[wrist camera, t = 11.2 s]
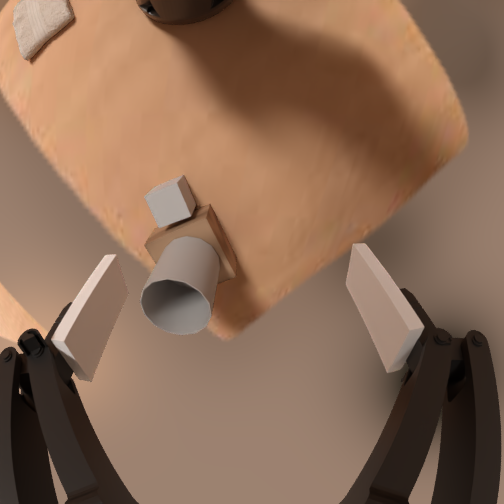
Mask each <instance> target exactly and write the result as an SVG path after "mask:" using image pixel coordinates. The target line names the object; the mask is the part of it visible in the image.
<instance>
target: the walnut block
mask: <svg viewBox="0 0 504 504" xmlns="http://www.w3.org/2000/svg"><path fill="white" fill-rule="evenodd" d="M185 236H189V237H195V238H200V239H202V240H203V241H205V242H206V243H208V244H210V245H211V246H212V247H213V249H214V250H215V252H216V253H217V255H218V256H219V264H220V270H219V276H218V282H217V284H218V283H221V282H223V281H226V280H229V279H232V278H235V277H236V256H235V254H234V252H233V250H232V248H231V246H230V244H229V242H228V239H227V237H226V235H225V233H224V231H223V229H222V227H221V225H220V223H219V221H218V219H217V217H216V215H215V213H214V211H213V209H212V207H211V205H210V204H209V205H206V206H204V207H202V208H199V209H197V210H195V211H193V213H192V216H191V217H188V218H185V219H182V220H180V221H177V222H174V223H172V224H169V225H166V226H164V227H161V228H159V227H157V228H155V229H154V231H153V232H152V234H151V235H150V237H149V238H148V240H147V241H146V243H145V245H144V246H145V247H146V249H147V251H148V252H149V254H150V256H151V257H152V259H153V260H154V262H155V264H157V262H158V260H159V258H160V256H161V255H162V253H163V251H164V249H165V247H166V246H168V245H169V244H170V243H171V242H172V241H173V240H174V239H177V238H181V237H185Z"/></svg>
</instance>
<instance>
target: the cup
mask: <svg viewBox="0 0 504 504" xmlns="http://www.w3.org/2000/svg"><path fill="white" fill-rule="evenodd" d="M219 270H220V264H219V256H218V255H217V253H216V252H215V250H214V249H213V247H212V246H211V245H210V244H208V243H206V242H205V241H203V240H202V239H200V238H195V237H189V236H185V237H181V238H177V239H174V240H173V241H172V242H171V243H170V244H169V245H168V246H166V247H165V249H164V251H163V253H162V255H161V256H160V258H159V260H158V262H157V264H156V265H155V267H154V269H153V271H152V273H151V275H150V277H149V279H148V280H147V282H146V284H145V286H144V288H143V290H142V294H141V299H140V304H141V307H142V310H143V313H144V315H145V316H146V317H147V318H148V319H149V320H150V321H151V322H152V323H153V325H155V326H157V327H158V328H160V329H162V330H164V331H166V332H169V333H174V334H179V335H187V334H193V333H197V332H199V331H200V330H201V329H203V328H205V327H206V326H207V324H208V322H209V320H210V318H211V316H212V310H213V304H214V299H215V293H216V287H217V282H218V276H219Z"/></svg>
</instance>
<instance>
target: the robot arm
mask: <svg viewBox="0 0 504 504" xmlns="http://www.w3.org/2000/svg"><path fill="white" fill-rule="evenodd" d="M232 1H233V0H136V2H137V4H138V6H139V8H140V9H141V10H142V11H143V12H144V13H145V14H146V15H147V16H148V17H150V18H151V19H153V20H155V21H158V22H161V23H165V24H172V25H181V24H189V23H194V22H198V21H202V20H204V19H207V18H209V17H212V16H214V15H215V14H217V13H219V12H220V11H222V10H223V9H225V8H226V7H227V6H228V5H229V4H230V3H231V2H232ZM346 286H347V288H348V290H349V292H350V294H351V296H352V298H353V300H354V302H355V304H356V306H357V308H358V310H359V312H360V315H361V316H362V318H363V321H364V323H365V325H366V327H367V329H368V331H369V333H370V336H371V338H372V340H373V342H374V344H375V346H376V349H377V351H378V353H379V356H380V358H381V360H382V362H383V365H384V367H385V369H386V371H387V373H389V372H393V371H397V370H401V369H402V367H403V366H404V364H405V362H407V364H408V366H409V369H408V370H407V372H406V373H405V375H404V377H403V378H402V380H401V382H403V384H402V386H401V389H400V391H399V394H398V397H397V399H396V402H395V404H394V407H393V409H392V411H391V414H390V416H389V418H388V421H387V423H386V425H385V427H384V429H383V431H382V433H381V436H380V438H379V440H378V442H377V444H376V446H375V447H374V450H373V451H372V453H371V455H370V457H369V459H368V461H367V462H366V464H365V466H364V468H363V469H362V471H361V473H360V474H359V476H358V478H357V479H356V481H355V483H354V484H353V486H352V487H351V489H350V490H349V492H348V494H347V495H346V496H345V498H344V499H343V500H342V501H341V502H340V503H339V504H409V502H408V498H409V496H410V494H411V491H412V489H413V487H414V485H415V483H416V481H417V478H418V476H419V474H420V471H421V469H422V467H423V464H424V462H425V459H426V456H427V454H428V451H429V448H430V445H431V442H432V439H433V436H434V433H435V430H436V426H437V423H438V420H439V416H440V412H441V409H442V431H441V443H440V453H439V462H438V469H437V475H436V481H435V487H434V492H433V497H432V501H431V504H497V498H498V491H499V481H500V470H501V423H500V410H499V401H498V392H497V385H496V379H495V374H494V368H493V363H492V358H491V353H490V349H489V346H488V341H487V339H486V337H485V336H484V335H483V334H482V333H481V332H479V331H476V330H471V331H469V332H468V333H467V335H466V337H465V338H452V336H451V335H450V334H449V333H448V332H447V331H445V330H444V329H440V328H436V327H435V326H434V324H433V323H432V321H431V319H430V318H429V317H428V315H427V314H426V312H425V311H424V309H422V306H421V305H420V304H419V303H418V301H417V300H416V298H415V297H414V295H413V294H412V293H410V292H409V291H408V290H407V289H405V288H404V289H399V288H398V287H397V285H396V284H395V283H394V281H393V280H392V278H391V277H390V276H389V274H388V273H387V271H386V270H385V269H384V267H383V266H382V265H381V263H380V262H379V261H378V259H377V258H376V257H375V255H374V254H373V253H372V252H371V250H370V249H369V248H368V246H367V245H366V244H365V243H360V244H353V246H352V252H351V258H350V264H349V269H348V274H347V279H346ZM128 294H129V292H128V289H127V286H126V283H125V280H124V277H123V274H122V271H121V267H120V264H119V261H118V258H117V255H105V256H104V258H103V259H102V260H101V262H100V263H99V265H98V266H97V268H96V269H95V270H94V272H93V273H92V274H91V276H90V277H89V279H88V280H87V282H86V283H85V285H84V286H83V288H82V289H81V291H80V292H79V294H78V295H77V297H76V298H75V300H74V301H73V302H70V303H69V304H68V305H67V306H66V307H65V308H64V309H63V310H62V312H61V313H60V315H59V317H58V318H57V320H56V321H55V322H56V323H54V325H53V326H52V328H51V330H50V331H49V333H48V335H47V336H46V338H45V340H44V339H43V337H42V336H41V334H40V333H39V331H38V330H37V329H29V330H27V331H25V332H24V333H23V334H22V335H21V336H20V337H19V339H18V346H19V347H20V349H21V350H22V351H23V354H19V353H18V352H17V351H16V349H15V348H13V347H8V348H6V349H4V350H3V351H2V352H1V354H0V504H58V500H57V496H56V493H55V488H54V484H53V479H52V474H51V469H50V463H49V456H48V451H49V454H50V456H51V459H52V462H53V464H54V467H55V469H56V472H57V474H58V476H59V479H60V481H61V483H62V485H63V487H64V490H65V492H66V494H67V497H68V500H67V501H66V502H65V504H139V503H138V502H136V500H135V499H134V498H133V497H132V495H131V494H130V492H129V491H128V490H127V488H126V486H125V485H124V483H123V482H122V481H121V479H120V477H119V476H118V474H117V472H116V471H115V469H114V467H113V466H112V464H111V462H110V460H109V458H108V457H107V455H106V453H105V451H104V449H103V447H102V445H101V444H100V441H99V439H98V437H97V435H96V434H95V431H94V429H93V427H92V425H91V423H90V420H89V418H88V416H87V414H86V411H85V409H84V407H83V404H82V401H81V399H80V396H79V394H78V391H77V389H76V386H75V383H74V381H73V379H72V378H71V376H72V374H73V372H74V373H75V375H76V376H77V377H78V378H79V379H80V380H85V381H90V382H92V379H93V377H94V374H95V371H96V369H97V366H98V364H99V361H100V358H101V356H102V353H103V351H104V348H105V346H106V344H107V341H108V339H109V336H110V334H111V332H112V329H113V327H114V325H115V323H116V320H117V318H118V316H119V313H120V311H121V309H122V307H123V305H124V303H125V301H126V299H127V296H128ZM19 388H20V389H21V394H19ZM47 448H48V449H47Z"/></svg>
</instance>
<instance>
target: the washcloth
mask: <svg viewBox="0 0 504 504" xmlns="http://www.w3.org/2000/svg"><path fill="white" fill-rule="evenodd" d="M71 8H72V7H71V6H70V4H69V0H21V1H20V2H18V3H17V5H16V6H15V8H14V11H13V12H14V22H13V26H14V29H15V33H16V38H17V41H18V44H19V49H20V53H21V55H22V56H23V58H24V59H25V60H27V61H28V60H29V59H30V58H32V57H33V56H34V55H35V54H36V53H37V52H38V51H39V49H41V47H42V46H43V45H44V44H45V43H46V42H47V41H48V40H49V39H50V38H51V37H52V36H54V35H55V34H57V33H58V32H59V31H60V30H61V29H63V28H64V27H65V26H66V25H67V24H68V23H70V22H71V21H72V20H73V19H74V17H75V16H74V14H73V9H71Z"/></svg>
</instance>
